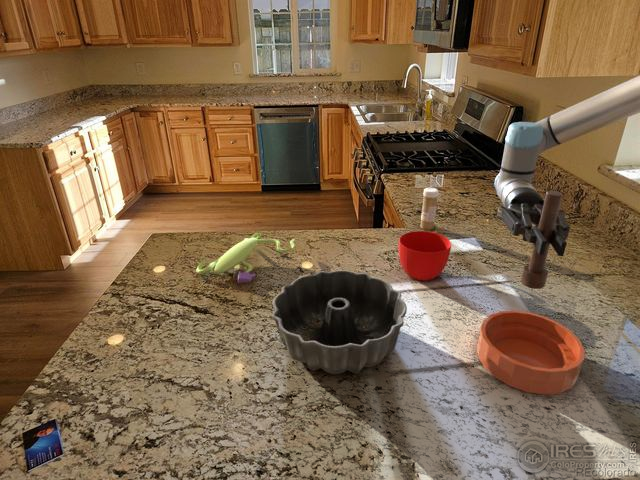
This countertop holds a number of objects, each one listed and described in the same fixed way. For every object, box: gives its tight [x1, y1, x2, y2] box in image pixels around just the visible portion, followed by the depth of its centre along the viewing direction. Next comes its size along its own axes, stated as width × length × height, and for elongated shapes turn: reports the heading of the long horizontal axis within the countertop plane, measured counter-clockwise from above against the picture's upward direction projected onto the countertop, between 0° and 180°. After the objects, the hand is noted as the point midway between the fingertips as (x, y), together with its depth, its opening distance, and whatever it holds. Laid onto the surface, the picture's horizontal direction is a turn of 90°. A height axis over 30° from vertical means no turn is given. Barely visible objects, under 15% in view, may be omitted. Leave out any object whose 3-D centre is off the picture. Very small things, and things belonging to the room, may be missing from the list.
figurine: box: [195, 232, 297, 284], centre depth 117 cm, size 18×27×6 cm
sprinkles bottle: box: [419, 187, 439, 231], centre depth 136 cm, size 5×5×13 cm
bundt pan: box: [271, 269, 408, 375], centre depth 86 cm, size 26×26×10 cm
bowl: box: [476, 310, 586, 395], centre depth 81 cm, size 18×18×6 cm
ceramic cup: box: [398, 230, 452, 282], centre depth 112 cm, size 13×17×10 cm
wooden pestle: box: [520, 190, 564, 290], centre depth 81 cm, size 4×4×19 cm
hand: (552, 248), depth 76 cm, fingers closed on wooden pestle, 3 cm apart
